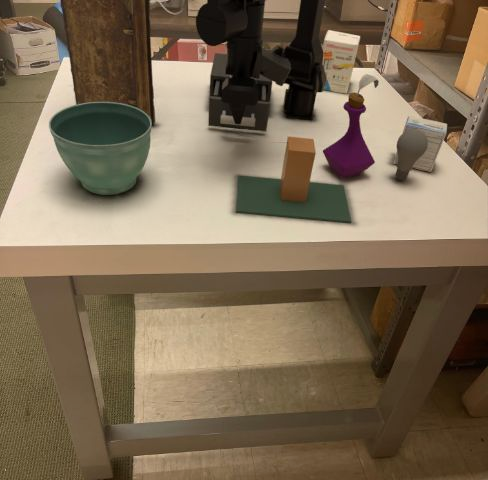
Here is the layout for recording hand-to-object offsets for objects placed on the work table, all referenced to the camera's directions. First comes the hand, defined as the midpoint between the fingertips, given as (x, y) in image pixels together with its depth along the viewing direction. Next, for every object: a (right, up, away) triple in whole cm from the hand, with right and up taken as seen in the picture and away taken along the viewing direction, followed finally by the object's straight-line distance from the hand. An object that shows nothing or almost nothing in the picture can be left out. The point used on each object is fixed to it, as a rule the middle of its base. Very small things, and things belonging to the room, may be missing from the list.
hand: (237, 123), depth 95 cm
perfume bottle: (+21, -8, +3) cm, 23 cm away
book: (-26, +5, +10) cm, 29 cm away
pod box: (+10, -15, -5) cm, 19 cm away
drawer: (0, +6, +13) cm, 15 cm away
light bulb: (+32, -10, +3) cm, 34 cm away
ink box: (+24, +24, +35) cm, 50 cm away
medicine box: (+36, -5, +8) cm, 38 cm away
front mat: (+10, -16, -6) cm, 20 cm away
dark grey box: (0, +15, +23) cm, 28 cm away
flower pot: (-23, -13, -7) cm, 27 cm away
